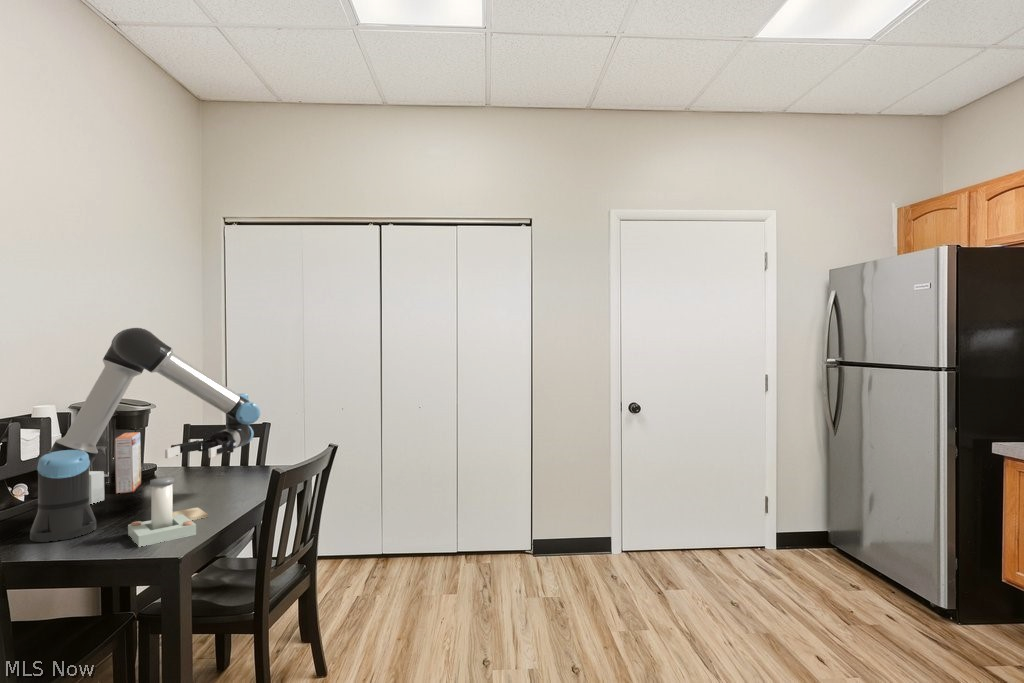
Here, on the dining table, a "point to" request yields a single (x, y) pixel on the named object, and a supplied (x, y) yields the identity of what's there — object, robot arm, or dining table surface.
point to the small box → (96, 486)
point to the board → (192, 513)
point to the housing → (161, 531)
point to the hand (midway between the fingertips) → (187, 453)
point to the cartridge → (161, 502)
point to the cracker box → (128, 462)
